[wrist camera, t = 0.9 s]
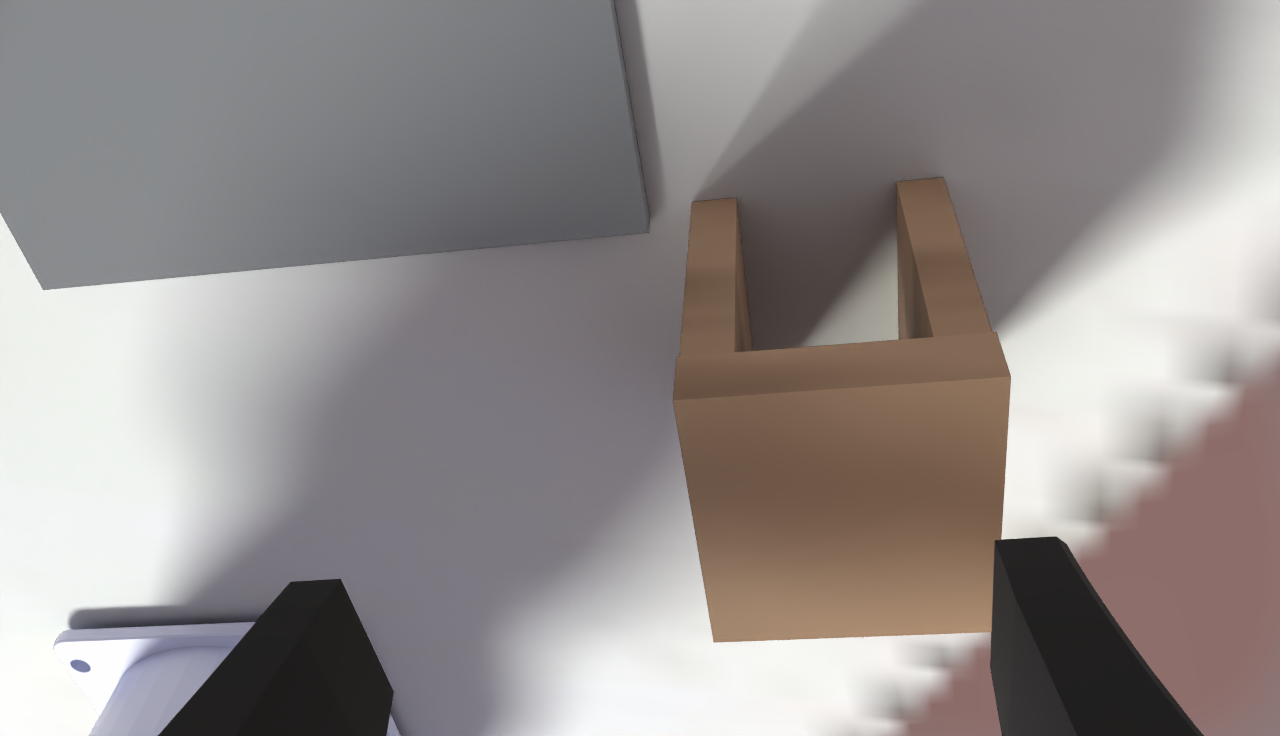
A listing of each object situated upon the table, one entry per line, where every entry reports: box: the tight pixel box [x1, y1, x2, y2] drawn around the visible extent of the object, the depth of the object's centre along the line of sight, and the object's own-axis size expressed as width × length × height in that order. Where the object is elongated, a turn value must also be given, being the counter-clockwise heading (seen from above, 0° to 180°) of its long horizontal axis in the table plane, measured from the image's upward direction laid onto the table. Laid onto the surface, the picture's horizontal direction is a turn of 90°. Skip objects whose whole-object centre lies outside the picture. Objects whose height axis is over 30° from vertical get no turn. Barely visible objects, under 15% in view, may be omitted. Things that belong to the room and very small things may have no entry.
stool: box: [673, 177, 1011, 642], centre depth 18 cm, size 5×4×6 cm
